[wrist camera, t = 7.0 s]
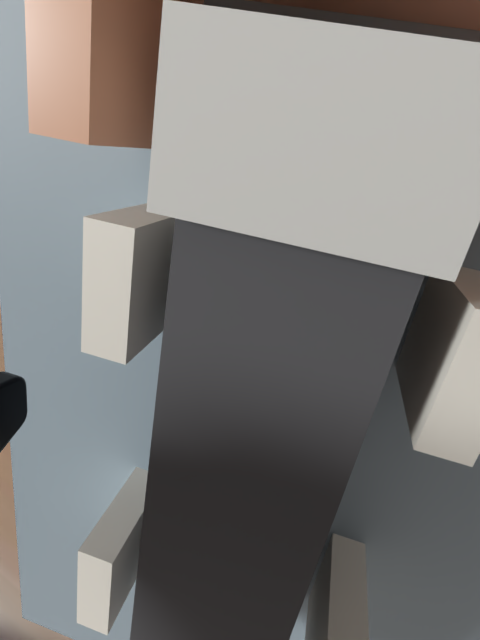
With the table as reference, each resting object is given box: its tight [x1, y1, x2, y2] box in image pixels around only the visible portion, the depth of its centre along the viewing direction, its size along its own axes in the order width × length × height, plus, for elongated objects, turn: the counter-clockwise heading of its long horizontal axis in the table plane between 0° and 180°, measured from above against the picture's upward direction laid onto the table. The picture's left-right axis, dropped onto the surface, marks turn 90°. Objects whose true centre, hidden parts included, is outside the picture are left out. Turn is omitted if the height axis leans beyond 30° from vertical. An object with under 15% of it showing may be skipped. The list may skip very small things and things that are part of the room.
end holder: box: [24, 0, 480, 149], centre depth 5 cm, size 3×7×3 cm, turn 80°
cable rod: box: [130, 0, 480, 640], centre depth 8 cm, size 12×3×3 cm, turn 169°
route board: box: [0, 0, 480, 640], centre depth 9 cm, size 22×14×3 cm, turn 169°
